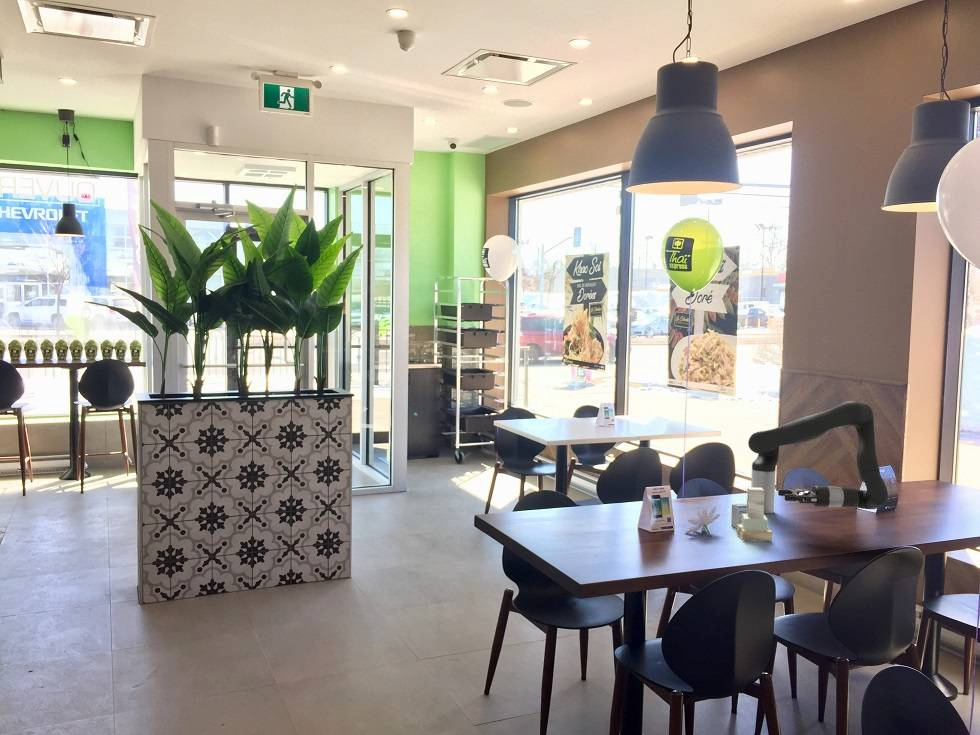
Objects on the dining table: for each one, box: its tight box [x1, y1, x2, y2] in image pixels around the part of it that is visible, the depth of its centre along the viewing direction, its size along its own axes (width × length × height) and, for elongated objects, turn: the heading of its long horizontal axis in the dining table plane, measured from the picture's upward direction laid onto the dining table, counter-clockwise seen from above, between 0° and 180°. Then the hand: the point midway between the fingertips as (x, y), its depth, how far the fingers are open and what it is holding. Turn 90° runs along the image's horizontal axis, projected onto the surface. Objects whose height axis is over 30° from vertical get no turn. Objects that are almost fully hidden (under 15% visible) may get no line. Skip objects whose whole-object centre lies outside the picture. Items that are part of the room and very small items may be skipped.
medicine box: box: [730, 503, 747, 529], centre depth 317 cm, size 8×4×9 cm, turn 105°
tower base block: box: [736, 524, 773, 542], centre depth 301 cm, size 10×10×4 cm
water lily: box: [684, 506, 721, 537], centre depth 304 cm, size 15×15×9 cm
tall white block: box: [746, 487, 765, 518], centre depth 302 cm, size 5×5×10 cm
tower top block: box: [742, 514, 769, 531], centre depth 301 cm, size 8×8×4 cm
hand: (781, 495), depth 301 cm, fingers open, 8 cm apart
